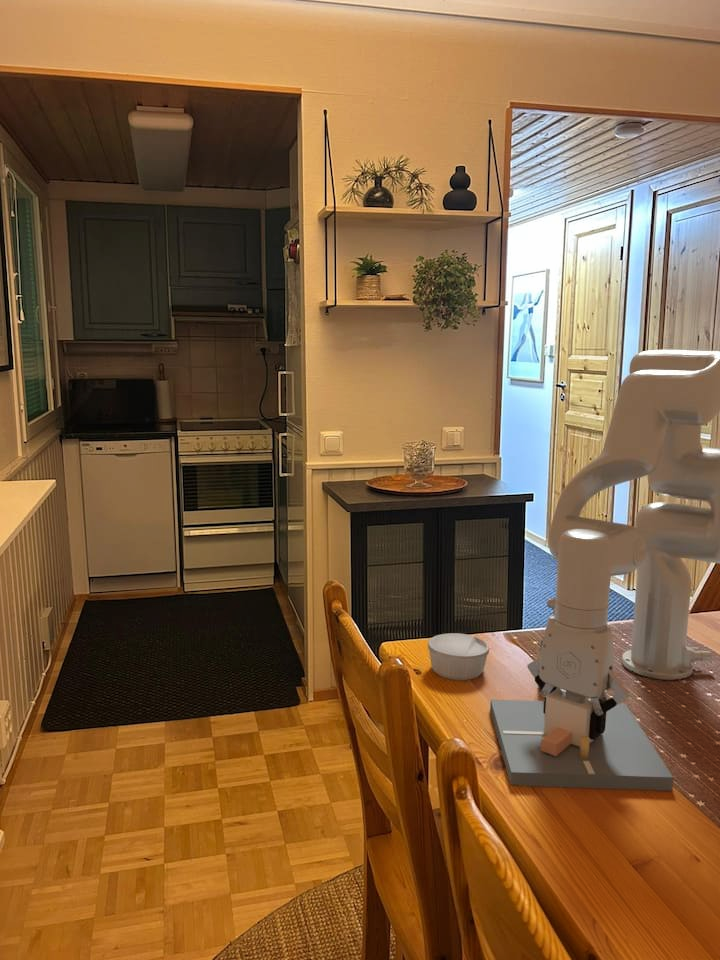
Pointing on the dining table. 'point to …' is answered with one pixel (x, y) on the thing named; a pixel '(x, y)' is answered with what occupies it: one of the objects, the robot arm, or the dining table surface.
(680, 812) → the dining table surface
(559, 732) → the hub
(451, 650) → the ramekin
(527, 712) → the board
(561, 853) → the dining table surface
